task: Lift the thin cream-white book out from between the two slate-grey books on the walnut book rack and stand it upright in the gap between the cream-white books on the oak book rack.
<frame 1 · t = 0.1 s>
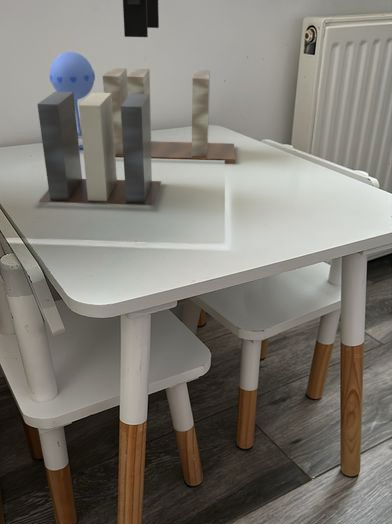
hand: (143, 32, 73), 24 cm above the table, tool pointing down, fingers open, 13 cm apart
baby rattle: (79, 150, 116), on the table
white book: (103, 190, 92), point 1 cm above the table, touching grey rack
grey rack: (103, 196, 92), on the table
white rack: (170, 154, 114), on the table
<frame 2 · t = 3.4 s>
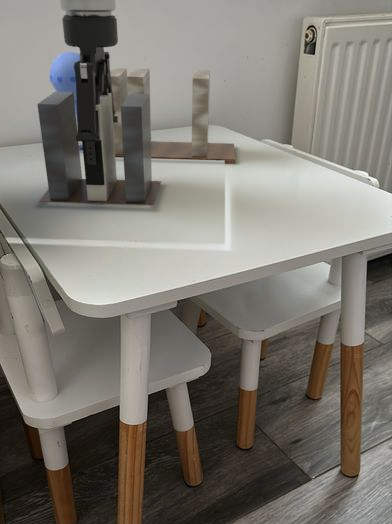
hand: (101, 173, 90), 4 cm above the table, tool pointing down, fingers closed on white book, 10 cm apart
white book: (103, 190, 92), point 1 cm above the table, touching grey rack, gripper
everything else where it was.
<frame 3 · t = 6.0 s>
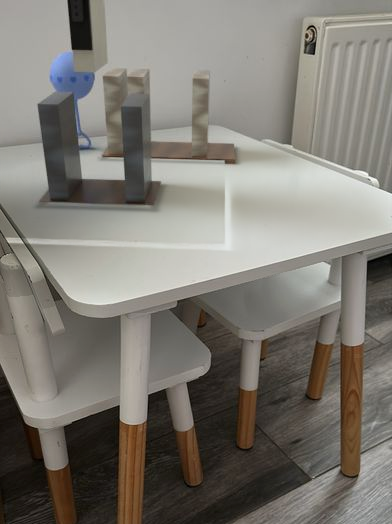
hand: (90, 45, 80), 22 cm above the table, tool pointing down, fingers closed on white book, 10 cm apart
white book: (91, 67, 81), point 19 cm above the table, touching gripper
everything else where it was.
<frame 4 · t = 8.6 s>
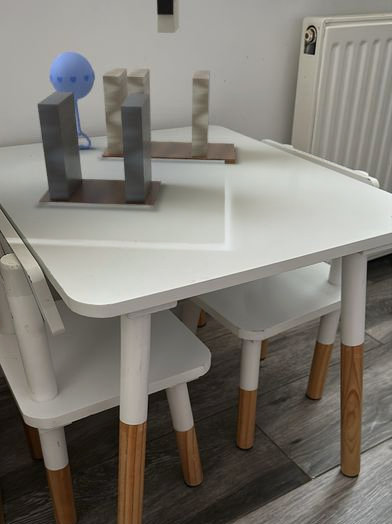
hand: (168, 12, 100), 25 cm above the table, tool pointing down, fingers closed on white book, 10 cm apart
white book: (168, 30, 101), point 22 cm above the table, touching gripper
everything else where it was.
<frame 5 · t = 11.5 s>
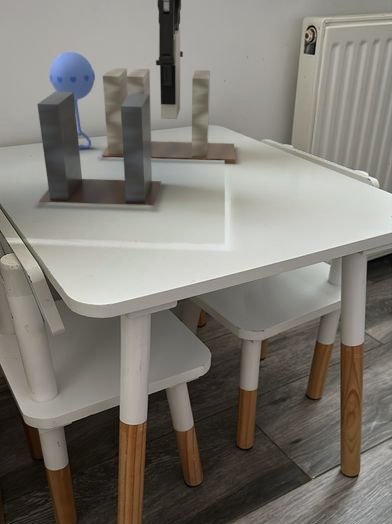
hand: (170, 98, 108), 11 cm above the table, tool pointing down, fingers closed on white book, 10 cm apart
white book: (170, 113, 110), point 8 cm above the table, touching gripper
everything else where it was.
when the fingers open (4 cm above the table, at t = 13.7 s): white book stays where it is, resting on white rack.
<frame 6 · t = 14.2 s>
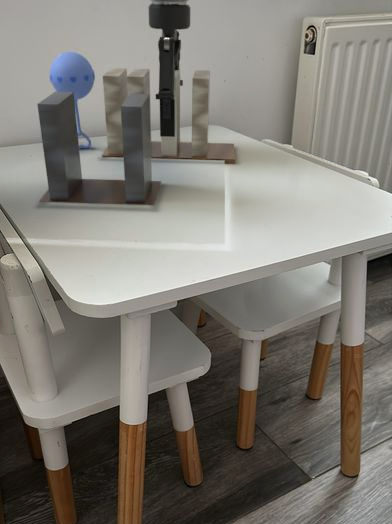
hand: (170, 128, 111), 5 cm above the table, tool pointing down, fingers open, 13 cm apart
white book: (171, 149, 114), point 1 cm above the table, touching white rack
everything else where it was.
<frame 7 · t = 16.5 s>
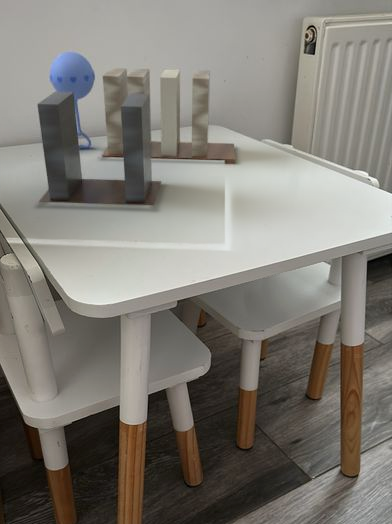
nothing on the table moved.
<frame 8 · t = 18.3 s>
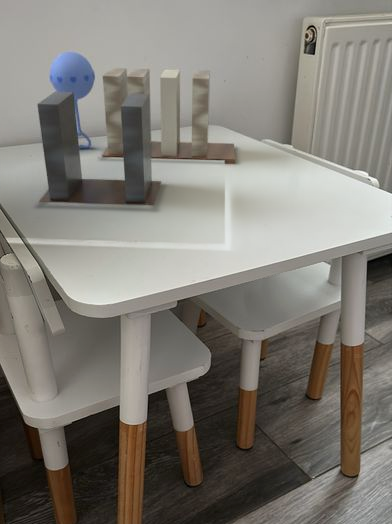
nothing on the table moved.
at the end: white book 0.1 cm off-centre on the white rack, point 1.0 cm above the white rack's base; white book tilted 0°; the gripper is holding nothing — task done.
